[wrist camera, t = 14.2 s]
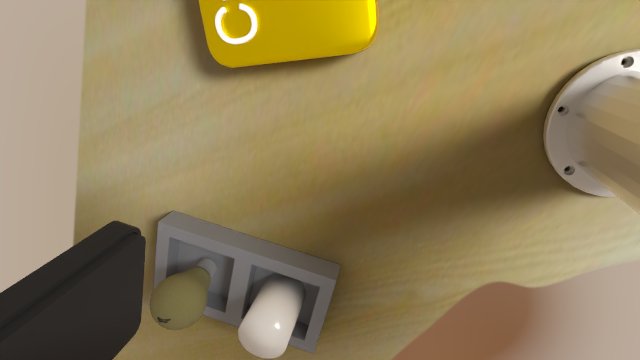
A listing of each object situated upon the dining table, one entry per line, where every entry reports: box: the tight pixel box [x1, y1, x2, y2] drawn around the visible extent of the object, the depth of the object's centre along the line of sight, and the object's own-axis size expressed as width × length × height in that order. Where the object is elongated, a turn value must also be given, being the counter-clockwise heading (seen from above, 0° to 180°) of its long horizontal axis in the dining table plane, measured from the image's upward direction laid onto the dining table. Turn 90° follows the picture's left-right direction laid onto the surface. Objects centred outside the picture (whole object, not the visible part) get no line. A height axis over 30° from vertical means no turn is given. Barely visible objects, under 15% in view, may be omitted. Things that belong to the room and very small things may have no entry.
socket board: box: [153, 211, 341, 354], centre depth 46 cm, size 21×11×3 cm, turn 76°
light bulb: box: [150, 258, 217, 330], centre depth 42 cm, size 6×6×10 cm
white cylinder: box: [238, 272, 306, 359], centre depth 42 cm, size 5×5×8 cm
